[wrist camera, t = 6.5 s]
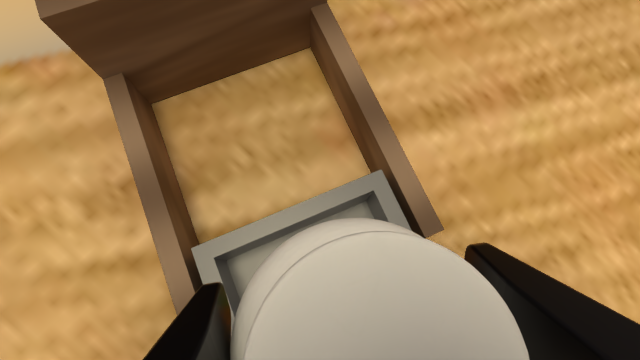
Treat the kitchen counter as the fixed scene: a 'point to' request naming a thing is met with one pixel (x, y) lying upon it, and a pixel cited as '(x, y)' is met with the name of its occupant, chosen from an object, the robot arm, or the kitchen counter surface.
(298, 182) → the kitchen counter surface
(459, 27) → the kitchen counter surface
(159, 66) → the dock
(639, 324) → the robot arm
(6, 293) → the kitchen counter surface
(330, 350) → the supplement bottle
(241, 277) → the tray
